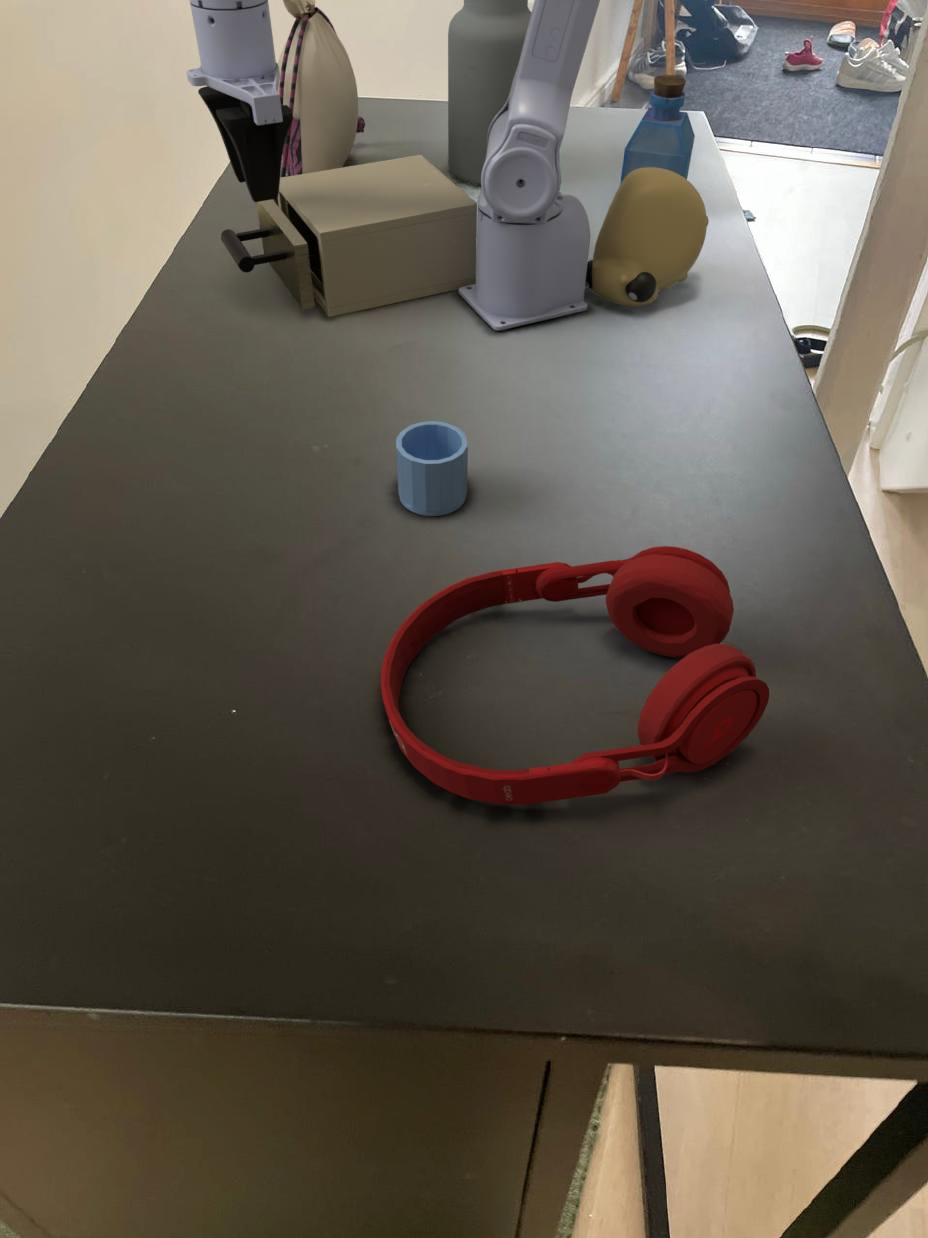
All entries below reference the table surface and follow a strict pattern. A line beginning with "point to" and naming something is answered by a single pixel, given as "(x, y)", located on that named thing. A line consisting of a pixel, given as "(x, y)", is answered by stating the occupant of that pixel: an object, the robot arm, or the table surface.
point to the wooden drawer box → (385, 232)
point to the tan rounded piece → (647, 237)
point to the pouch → (316, 94)
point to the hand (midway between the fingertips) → (257, 188)
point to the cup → (432, 468)
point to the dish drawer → (281, 250)
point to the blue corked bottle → (662, 131)
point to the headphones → (648, 617)
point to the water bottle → (480, 76)
